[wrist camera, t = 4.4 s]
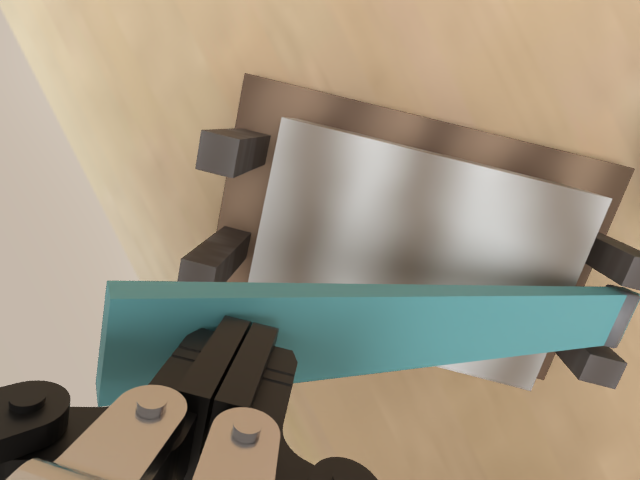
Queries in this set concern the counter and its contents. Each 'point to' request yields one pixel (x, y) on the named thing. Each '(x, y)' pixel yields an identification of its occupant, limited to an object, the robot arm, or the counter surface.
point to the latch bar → (355, 324)
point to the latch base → (408, 210)
